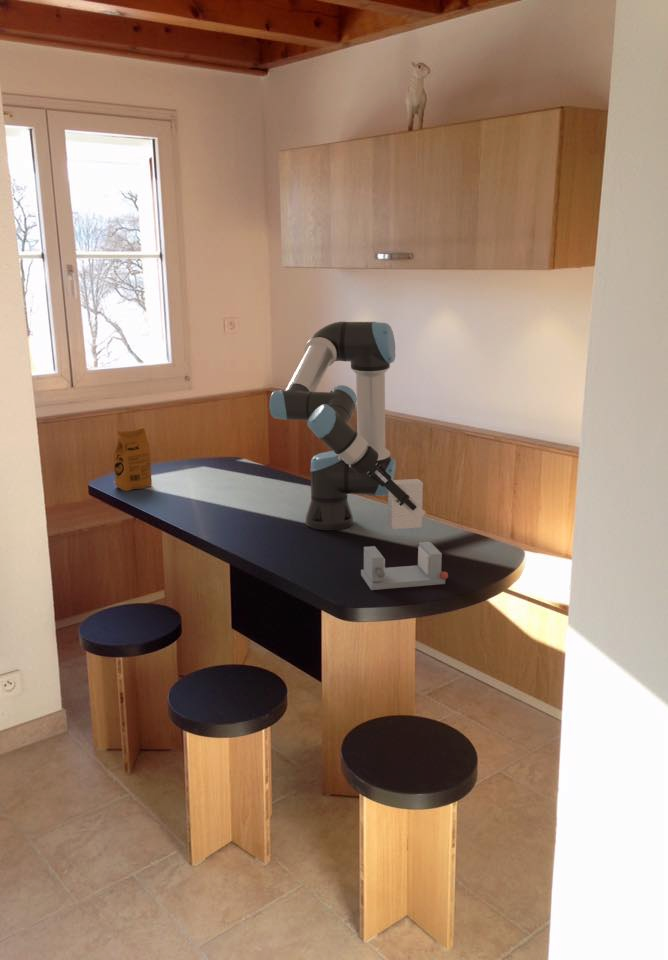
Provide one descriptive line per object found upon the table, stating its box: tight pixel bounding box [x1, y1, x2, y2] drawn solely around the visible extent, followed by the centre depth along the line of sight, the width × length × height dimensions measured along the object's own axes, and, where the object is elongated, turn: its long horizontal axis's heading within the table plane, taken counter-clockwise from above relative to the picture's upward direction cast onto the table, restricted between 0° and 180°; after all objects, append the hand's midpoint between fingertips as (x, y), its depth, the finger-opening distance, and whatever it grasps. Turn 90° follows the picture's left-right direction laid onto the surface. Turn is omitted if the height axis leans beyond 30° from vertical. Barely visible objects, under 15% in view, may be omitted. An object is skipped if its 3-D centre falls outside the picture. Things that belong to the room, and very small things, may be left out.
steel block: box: [387, 478, 424, 530], centre depth 222 cm, size 4×8×12 cm, turn 102°
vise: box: [360, 540, 449, 591], centre depth 226 cm, size 12×21×8 cm, turn 102°
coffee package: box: [113, 426, 153, 492], centre depth 316 cm, size 10×12×22 cm
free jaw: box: [363, 545, 386, 582], centre depth 223 cm, size 13×4×6 cm, turn 12°
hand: (419, 513), depth 224 cm, fingers closed on steel block, 4 cm apart
